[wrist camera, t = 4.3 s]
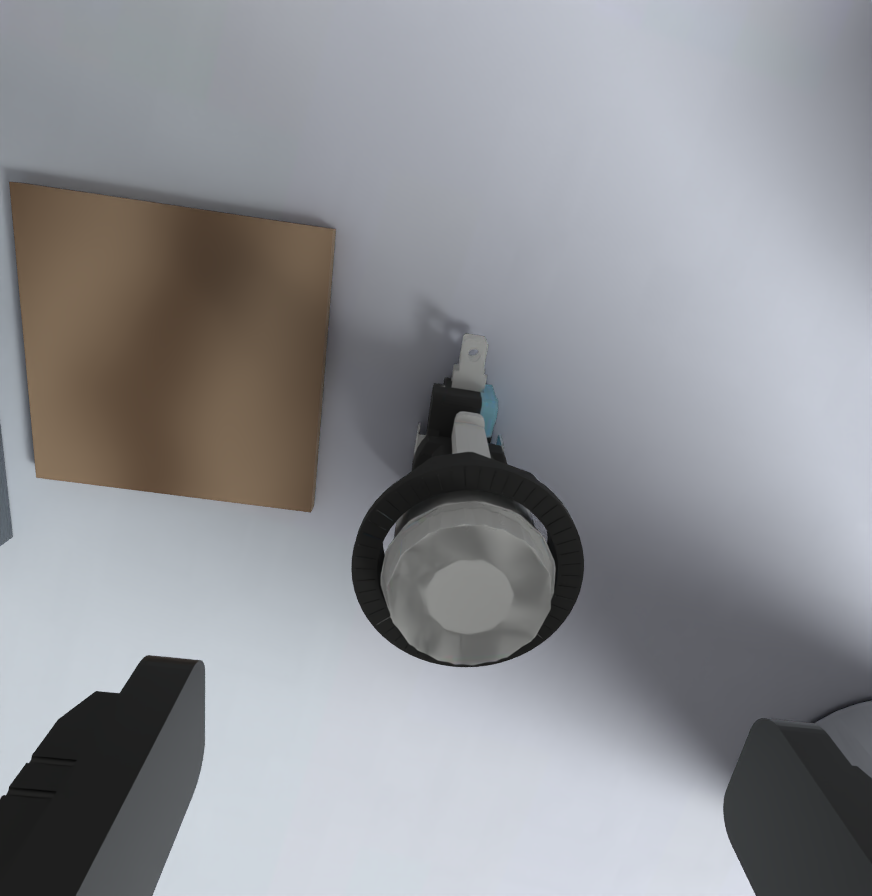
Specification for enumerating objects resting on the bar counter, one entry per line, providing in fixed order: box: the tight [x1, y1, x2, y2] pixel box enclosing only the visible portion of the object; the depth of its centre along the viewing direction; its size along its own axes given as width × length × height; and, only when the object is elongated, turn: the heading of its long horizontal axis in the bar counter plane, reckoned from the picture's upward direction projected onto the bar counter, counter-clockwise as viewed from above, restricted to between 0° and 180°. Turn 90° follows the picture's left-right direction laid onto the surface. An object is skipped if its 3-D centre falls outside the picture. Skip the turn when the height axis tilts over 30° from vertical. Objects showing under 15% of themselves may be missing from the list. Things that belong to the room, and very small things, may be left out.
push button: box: [352, 334, 584, 667], centre depth 18 cm, size 7×5×10 cm
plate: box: [9, 182, 336, 512], centre depth 21 cm, size 10×10×1 cm
